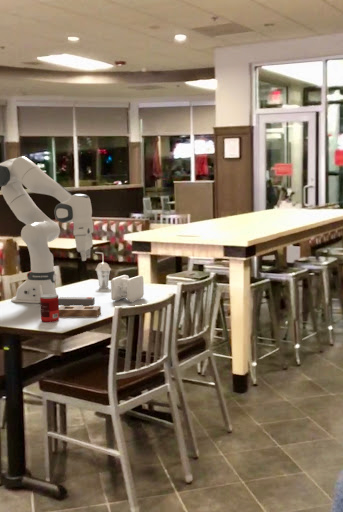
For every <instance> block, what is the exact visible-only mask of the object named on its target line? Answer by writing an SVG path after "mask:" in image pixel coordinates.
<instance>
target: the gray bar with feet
mask: <svg viewBox="0 0 343 512" xmlns="http://www.w3.org/2000/svg"><path fill="white" fill-rule="evenodd" d="M58 299H59V306H95V301H96V300H95V297H93V296H87V297H86V296H85V297H82V296H81V297H79V296H78V297H75V296H73V297H72V296H71V297H69V296H67V297H63V296H62V297H61V296H60V297H58Z"/></svg>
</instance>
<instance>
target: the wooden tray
mask: <svg viewBox="0 0 343 512" xmlns="http://www.w3.org/2000/svg"><path fill="white" fill-rule="evenodd" d="M101 308H102V307H101V306H100V305H93V306H64V305H59V317H79V318H80V317H81V318H82V317H83V318H85V317H89V318H91V317H95V318H97V317H98V316H99V315H100V314H101V311H102V310H101Z"/></svg>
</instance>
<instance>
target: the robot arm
mask: <svg viewBox="0 0 343 512" xmlns="http://www.w3.org/2000/svg"><path fill="white" fill-rule="evenodd" d="M0 187H1V188H0V191H1V194H2V196H3V199H4V201H5V202H6V204H7V205H8V207H9V208H10V210H11V211H12V213H13V214H14V216H15V217H16V219H17V220H19V221H20V222H22V223H23V224H25V225H24V226H23V227H22V229H21V232H20V236H21V240H22V241H23V242H24V243H25V245H26V247H27V249H28V252H29V253H28V254H29V258H30V260H29V261H30V271H28V272H27V274H26V278H27V279H26V280H25V281H24V282H22V283H21V284H20V285H19V286H18V287H17V288H16V291H15V296H13V297H12V298H11V302H12V303H28V304H29V303H31V304H40V296H41V295H43V294H57V295H58V293H57V290H56V284H55V282H56V271H55V269H54V268H55V267H54V266H55V265H54V254H53V253H52V252H51V251H50V247H49V245H48V243H50V242H53V241H54V240H56V239H57V238H58V237H59V236H60V233H61V228H60V225H59V224H58V223H57V222H56V221H54V220H53V219H51V218H50V217H48V216H47V215H46V214H45V213H44V212H43V211H42V210H41V209H40V208H39V207H38V206H37V205H36V203H35V201H33V199H32V197H30V195H29V193H28V192H27V190H26V189H28V190H29V191H30V192H32V193H35V194H40V195H47V196H51V197H53V198H54V199H56V200H57V201H59V202H60V203H58V204H56V206H55V207H54V210H53V211H54V217H55V219H56V220H57V221H58V222H59V223H62V224H68V223H72V224H73V231H72V233H73V236H74V239H75V245H76V246H75V247H76V251H77V252H78V253H80V257H81V261H82V262H85V261H87V259H90V258H91V248H92V247H93V246H94V245H93V244H94V243H93V235H92V234H93V233H94V220H93V219H92V218H93V217H92V215H93V208H92V203H91V202H92V201H91V199H90V196H89V195H87V194H85V193H75V194H72V193H71V192H69V190H67V188H65V187H64V186H62V185H61V184H60V183H58V182H57V181H56V180H54V179H53V178H52V177H50V175H48V174H47V173H46V172H44V170H43V169H41V168H40V167H39V166H38V165H37V164H36V163H35V162H33V161H32V160H31V159H29V158H28V157H26V156H17V157H15V158H10V159H7V160H4V161H2V162H0ZM24 187H25V188H26V189H25V188H24Z"/></svg>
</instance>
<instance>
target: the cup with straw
mask: <svg viewBox="0 0 343 512" xmlns="http://www.w3.org/2000/svg"><path fill="white" fill-rule="evenodd" d="M94 254H100V255H101V256H102V262H99V263H98V264H97V266H96V268H95V271H96V274H97V279H98V286H99V289H109V280H110V271H112V268H111V267H110V264H108V263H107V262H105V261H104V259H105V258H104V252H100V251H94Z"/></svg>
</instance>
